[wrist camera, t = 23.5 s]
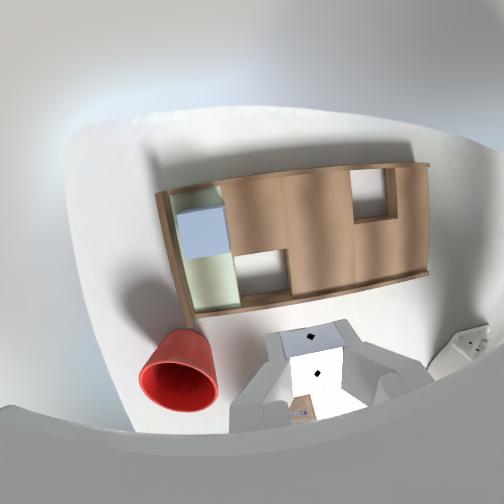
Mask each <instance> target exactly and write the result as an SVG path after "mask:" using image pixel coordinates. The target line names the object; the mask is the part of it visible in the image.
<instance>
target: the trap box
mask: <svg viewBox="0 0 504 504" xmlns="http://www.w3.org/2000/svg"><path fill="white" fill-rule="evenodd" d="M427 167H430V165H429V163H376V164H357V165H341V166H329V167H317V168H307V169H297V170H288V171H280V172H272V173H264V174H257V175H250V176H243V177H236V178H230V179H224V180H218V181H212V182H206V183H201V184H195V185H190V186H185V187H180V188H175V189H170V190H166V191H163V192H159V193H156V194H155V197H156V202H157V208H158V213H159V218H160V223H161V227H162V232H163V237H164V241H165V246H166V250H167V254H168V258H169V262H170V267H171V271H172V275H173V278H174V282H175V286H176V290H177V294H178V297H179V301H180V304H181V308H182V311H183V315H184V318H185V322H186V325H187V328H194V324H195V320H196V318H203V317H211V316H219V315H227V314H235V313H242V312H249V311H256V310H262V309H269V308H275V307H281V306H287V305H293V304H299V303H304V302H310V301H315V300H321V299H326V298H331V297H336V296H341V295H346V294H351V293H356V292H360V291H365V290H369V289H374V288H378V287H383V286H387V285H391V284H395V283H400V282H404V281H408V280H412V279H416V278H420V277H423V276H427V275H428V274H429V271H427V260H428V243H429V187H428V171H427ZM379 168H385V179H386V193H387V213H388V215H383V216H375V217H367V218H359V219H354V217H353V203H352V191H351V180H350V170H361V169H379ZM221 203H225V209H226V215H227V221H228V227H229V233H230V239H231V250H230V253H227V254H220V255H214V256H207V257H200V258H194V259H187V260H185V256H184V251H183V246H182V242H181V237H180V232H179V227H178V222H177V217H176V215H177V214H179V213H180V212H181V211H183V210H186V209H191V208H197V207H203V206H209V205H215V204H221ZM280 249H285V255H286V264H287V273H288V283H289V289H286V290H280V291H274V292H268V293H261V294H255V295H248V296H240V290H239V285H238V279H237V274H236V268H235V262H234V256H240V255H247V254H254V253H260V252H267V251H273V250H280Z"/></svg>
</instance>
